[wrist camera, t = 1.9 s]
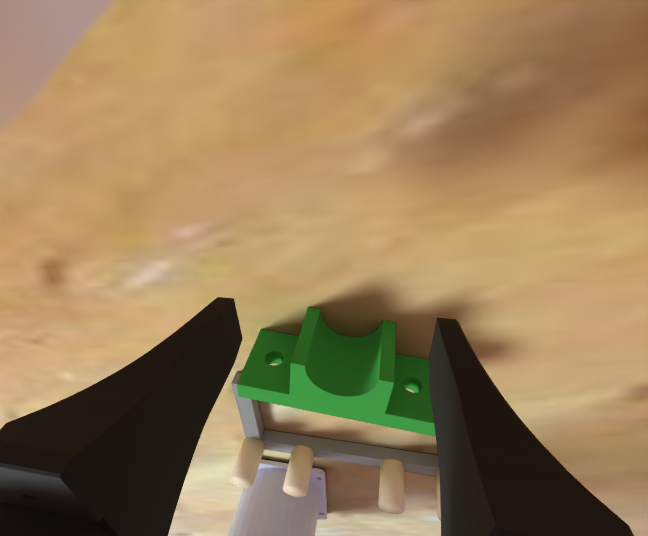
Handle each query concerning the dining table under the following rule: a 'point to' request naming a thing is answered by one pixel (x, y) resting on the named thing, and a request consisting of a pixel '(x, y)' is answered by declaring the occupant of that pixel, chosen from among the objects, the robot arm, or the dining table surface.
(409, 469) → the peg cradle
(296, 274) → the dining table surface
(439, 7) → the dining table surface
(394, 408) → the pipe clamp
